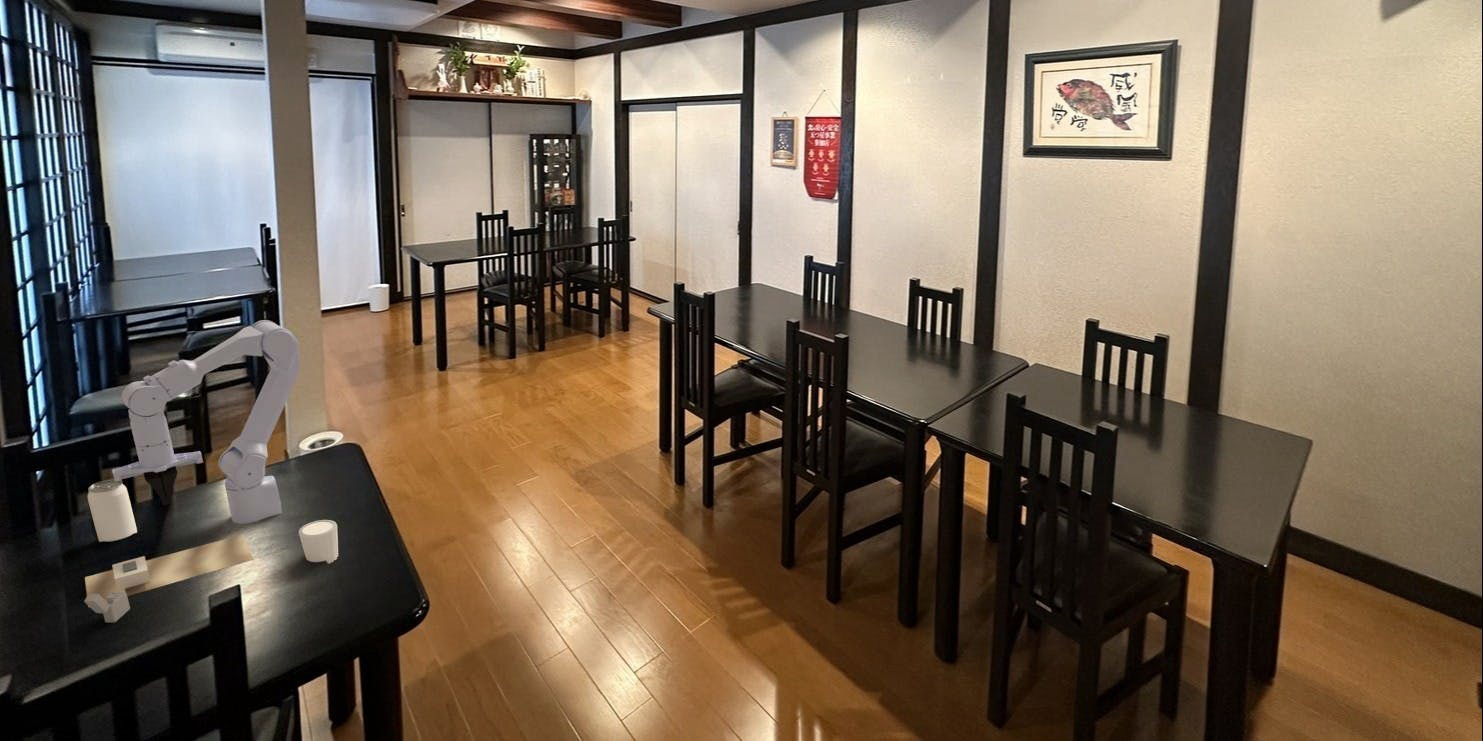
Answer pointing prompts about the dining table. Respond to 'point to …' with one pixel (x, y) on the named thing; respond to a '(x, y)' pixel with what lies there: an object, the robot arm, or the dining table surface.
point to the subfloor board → (177, 566)
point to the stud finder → (131, 573)
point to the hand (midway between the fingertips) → (167, 502)
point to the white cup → (320, 541)
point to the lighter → (109, 605)
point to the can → (111, 510)
